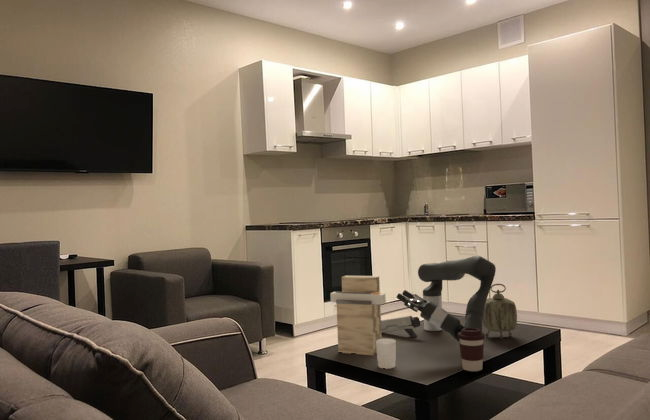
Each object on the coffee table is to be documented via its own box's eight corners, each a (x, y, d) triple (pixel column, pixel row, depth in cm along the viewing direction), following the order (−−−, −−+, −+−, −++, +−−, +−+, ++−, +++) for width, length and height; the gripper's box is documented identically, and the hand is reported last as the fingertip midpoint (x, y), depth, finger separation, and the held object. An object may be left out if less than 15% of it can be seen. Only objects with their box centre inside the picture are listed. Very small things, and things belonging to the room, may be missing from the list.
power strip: (334, 300, 238) (334, 290, 238) (385, 302, 228) (385, 292, 228) (330, 302, 234) (330, 292, 234) (382, 304, 224) (382, 293, 224)
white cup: (373, 365, 211) (372, 340, 211) (390, 362, 214) (389, 337, 214) (382, 370, 204) (381, 344, 203) (400, 367, 207) (399, 341, 207)
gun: (421, 336, 249) (416, 315, 250) (377, 342, 264) (373, 322, 265) (424, 335, 251) (419, 314, 252) (380, 341, 266) (375, 321, 267)
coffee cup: (456, 365, 206) (455, 326, 206) (482, 364, 206) (480, 326, 206) (462, 373, 196) (460, 332, 196) (489, 372, 196) (487, 332, 196)
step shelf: (348, 345, 242) (345, 275, 242) (381, 348, 236) (379, 276, 235) (338, 352, 231) (335, 279, 231) (372, 355, 224) (370, 280, 224)
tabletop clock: (512, 334, 250) (510, 281, 250) (519, 339, 241) (517, 284, 241) (481, 335, 251) (479, 283, 250) (487, 340, 241) (485, 285, 241)
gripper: (442, 303, 223) (408, 283, 229) (434, 309, 210) (399, 288, 216) (434, 318, 224) (401, 298, 230) (426, 325, 211) (391, 304, 217)
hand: (400, 293), depth 223 cm, fingers open, 8 cm apart
